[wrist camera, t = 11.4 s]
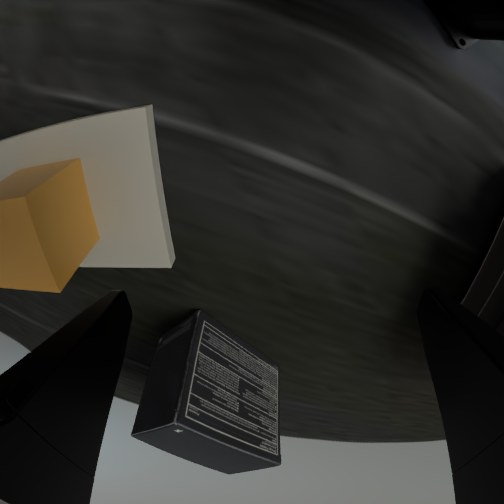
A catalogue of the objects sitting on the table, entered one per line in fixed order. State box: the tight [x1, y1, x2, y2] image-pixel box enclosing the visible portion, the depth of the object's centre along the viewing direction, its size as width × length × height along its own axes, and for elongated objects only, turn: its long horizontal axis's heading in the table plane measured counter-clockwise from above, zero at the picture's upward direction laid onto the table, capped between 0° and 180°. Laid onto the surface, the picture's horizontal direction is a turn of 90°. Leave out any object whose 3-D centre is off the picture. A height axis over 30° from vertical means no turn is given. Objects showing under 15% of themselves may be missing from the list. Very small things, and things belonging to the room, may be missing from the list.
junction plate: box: [0, 105, 175, 268], centre depth 18 cm, size 16×11×5 cm, turn 92°
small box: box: [131, 310, 281, 474], centre depth 24 cm, size 11×6×10 cm, turn 43°
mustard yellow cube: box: [0, 158, 100, 293], centre depth 17 cm, size 6×6×6 cm
